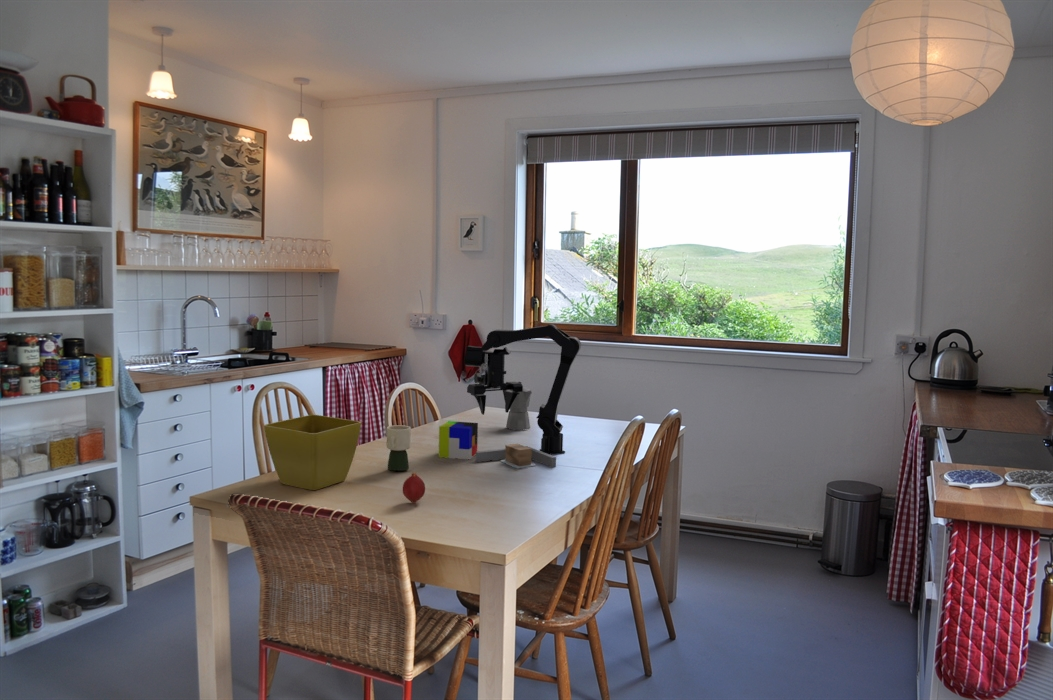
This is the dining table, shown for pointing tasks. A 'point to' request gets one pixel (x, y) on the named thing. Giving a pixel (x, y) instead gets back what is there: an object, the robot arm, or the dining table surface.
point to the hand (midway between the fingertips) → (494, 413)
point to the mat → (516, 465)
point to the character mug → (398, 446)
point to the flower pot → (312, 449)
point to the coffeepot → (519, 411)
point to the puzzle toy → (458, 439)
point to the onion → (413, 488)
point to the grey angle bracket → (500, 454)
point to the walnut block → (518, 454)
